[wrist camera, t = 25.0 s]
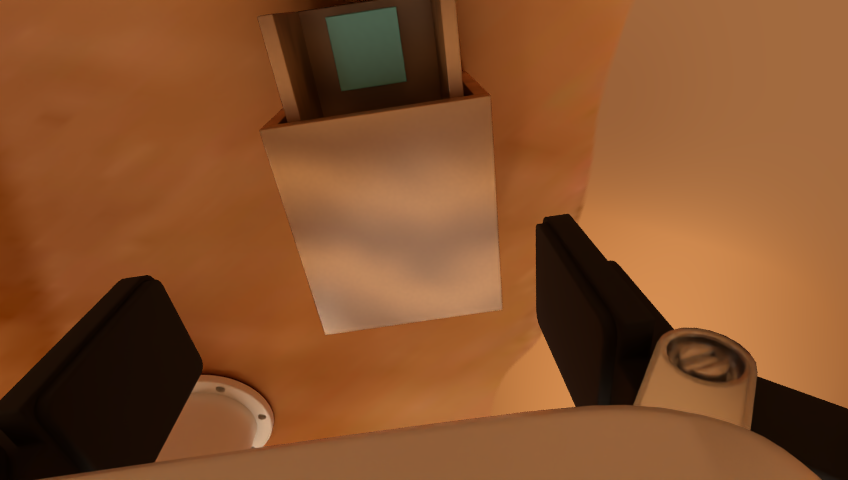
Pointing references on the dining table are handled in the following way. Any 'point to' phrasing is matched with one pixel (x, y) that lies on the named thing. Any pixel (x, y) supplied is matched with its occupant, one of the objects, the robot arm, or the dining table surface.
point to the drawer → (316, 71)
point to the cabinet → (393, 210)
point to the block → (367, 48)
